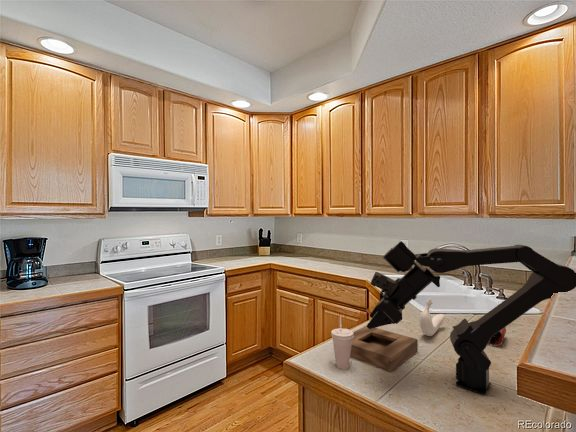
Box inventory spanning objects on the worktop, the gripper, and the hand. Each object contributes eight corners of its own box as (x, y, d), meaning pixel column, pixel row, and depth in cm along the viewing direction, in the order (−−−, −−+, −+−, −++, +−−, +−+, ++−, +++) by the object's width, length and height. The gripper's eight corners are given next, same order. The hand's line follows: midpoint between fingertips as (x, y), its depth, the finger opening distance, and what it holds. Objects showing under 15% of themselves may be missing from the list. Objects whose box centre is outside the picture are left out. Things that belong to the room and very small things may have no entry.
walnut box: (417, 351, 98) (417, 339, 98) (391, 372, 85) (391, 357, 85) (366, 336, 111) (366, 325, 111) (337, 352, 98) (337, 340, 98)
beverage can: (507, 338, 109) (507, 319, 109) (503, 349, 100) (503, 328, 100) (483, 333, 114) (483, 315, 114) (477, 343, 105) (477, 323, 105)
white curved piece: (445, 328, 118) (445, 290, 118) (432, 344, 104) (431, 300, 104) (431, 325, 121) (431, 288, 122) (416, 341, 107) (416, 298, 107)
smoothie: (338, 358, 94) (338, 312, 94) (357, 364, 90) (357, 316, 90) (327, 366, 89) (326, 317, 89) (347, 373, 85) (346, 322, 85)
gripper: (389, 258, 94) (352, 292, 98) (387, 268, 77) (343, 309, 80) (417, 286, 92) (379, 320, 95) (422, 302, 74) (375, 343, 78)
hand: (369, 321), depth 87 cm, fingers open, 9 cm apart
